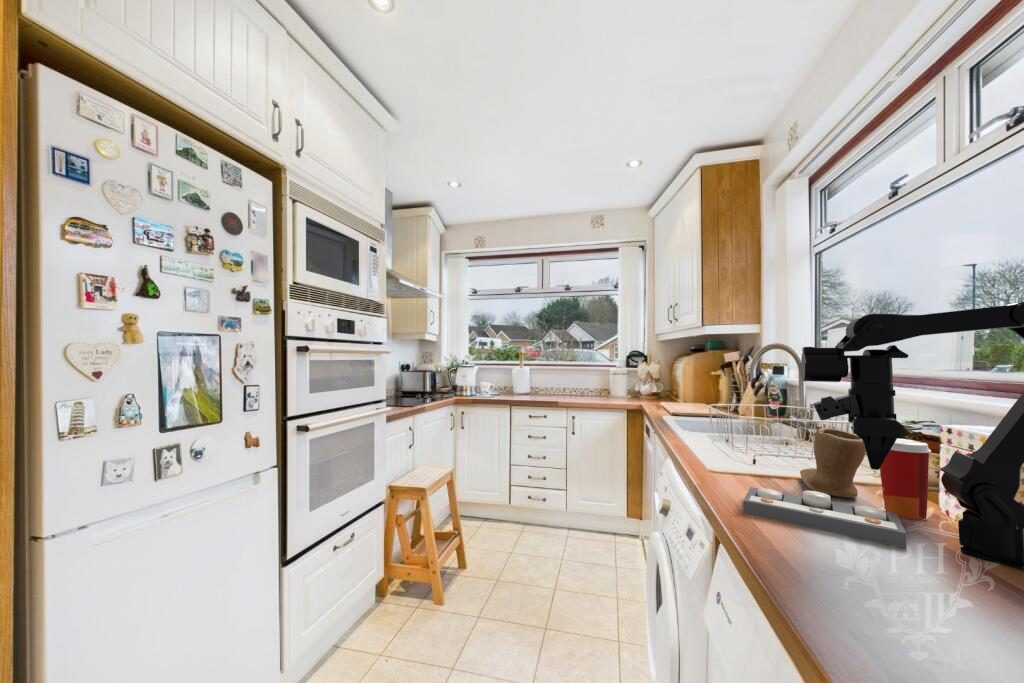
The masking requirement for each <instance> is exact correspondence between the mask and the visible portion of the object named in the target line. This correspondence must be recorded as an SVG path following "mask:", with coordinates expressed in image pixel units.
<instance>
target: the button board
mask: <svg viewBox="0 0 1024 683" xmlns="http://www.w3.org/2000/svg"><path fill="white" fill-rule="evenodd" d="M758 489H760V488H759V487H758V488H757V487H754V486H753V487H749V489H748V491H747V493H746V494H745V496H744V498H743V500H742V506H743V507H742V510H743V512H742V513H743V514H747V515H753V516H756V517H762V518H766V519H770V520H771V519H772V520H775V521H779V522H784V523H789V524H792V525H793V524H794V525H798V526H801V527H807V528H812V529H817V530H820V531H821V530H822V531H826V532H831V533H835V534H839V535H840V534H841V535H843V536H844V535H845V536H850V537H853V538H857V539H862V540H863V539H864V540H866V541H867V540H868V541H870V542H876V543H881V544H886V545H890V546H894V547H900V548H905V549H908V541H907V532H906V530H905V526H903V523H902V521H901V519H900V517H898V515H897V513H893V512H888V511H885V510H883V511H884V512H885V513H886V521H882V520H877V519H873V518H867V517H861V516H856V515H855V506H856V505H854V504H847V503H842V502H837V501H831V500H830V501H831V508H827V509H823V508H816V507H812V506H809V505H806V504H804V503H803V495H797V494H791V493H786V492H781V493H782V501H777V500H772V499H767V498H762V497H758V493H757V490H758Z"/></svg>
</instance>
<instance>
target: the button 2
mask: <svg viewBox="0 0 1024 683" xmlns="http://www.w3.org/2000/svg"><path fill="white" fill-rule="evenodd" d="M854 506H855V515H856V516H861V517H867V518H873V519H877V520H882V521H886V513H885V512H884V511H885V510H882V509H878V508H875V507H871V506H866V505H865V506H864V505H854Z"/></svg>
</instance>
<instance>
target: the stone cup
mask: <svg viewBox="0 0 1024 683" xmlns="http://www.w3.org/2000/svg"><path fill="white" fill-rule="evenodd" d="M813 453H814V459H815V464H816V465H815V466H816V468H803V469H801V470H800V472H799V474H800V477H801V479H802V480H803V483H804V484H805V485H806V486H807V488H809V490H811V491H816V492H821V493H825V494H827V495H829V496H833V497H839V498H840V497H841V498H853V499H854V498H856V497H858V495H859V492H858V489H857V487H856V486H855V484H854V478H855V476H856V473H857V471H858V469H859V467H860V466H861V464H862V463H863V461H864V458H865V455H866V450H865V447H864V444H863V440H862V439H861V438H860V437H858V436H857V435H856V434H854V433H851V432H848V431H845V430H841V429H835V428H831V427H820V428H819V429H817V431H816V432H815V434H814V443H813Z"/></svg>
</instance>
